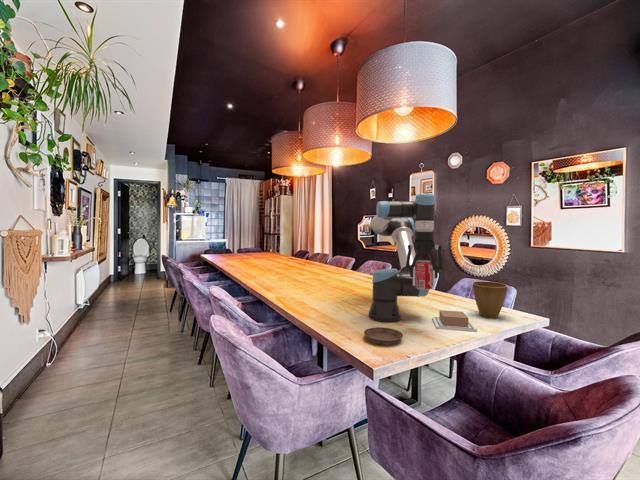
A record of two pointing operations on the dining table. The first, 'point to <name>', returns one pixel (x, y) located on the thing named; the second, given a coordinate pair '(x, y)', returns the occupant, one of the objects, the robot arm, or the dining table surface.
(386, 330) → the saucer
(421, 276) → the soda can
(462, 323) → the base
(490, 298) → the plant pot
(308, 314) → the dining table surface
